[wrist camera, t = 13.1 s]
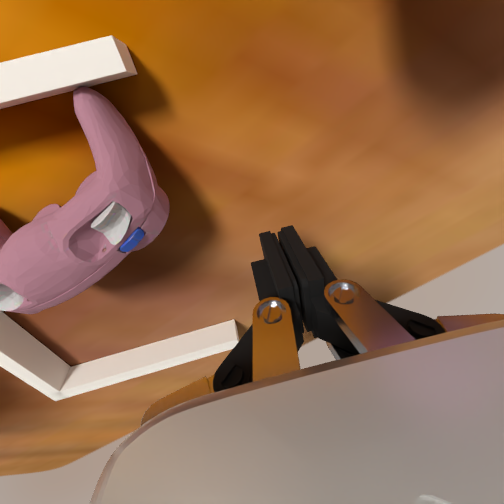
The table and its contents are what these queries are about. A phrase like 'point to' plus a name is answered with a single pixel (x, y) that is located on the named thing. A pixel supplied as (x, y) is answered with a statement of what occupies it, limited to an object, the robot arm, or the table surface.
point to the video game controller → (85, 218)
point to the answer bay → (14, 336)
